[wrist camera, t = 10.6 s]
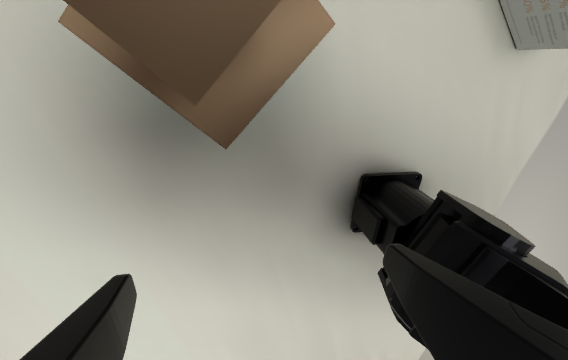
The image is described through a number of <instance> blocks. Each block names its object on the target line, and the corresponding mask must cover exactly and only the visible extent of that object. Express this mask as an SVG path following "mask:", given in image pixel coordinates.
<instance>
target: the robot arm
mask: <svg viewBox="0 0 568 360" xmlns="http://www.w3.org/2000/svg"><path fill="white" fill-rule="evenodd" d="M416 177H417V178H416ZM367 178H368V179H367ZM415 178H416V179H415ZM366 179H367V181H365V180H366ZM421 180H422V175H421V174H420V173H418V172H407V173H384V174H365V175H363V176H362V177H361V179H360V183H359V188H358V193H357V196H356V198H355V203H354V208H353V213H352V222H351V230H352V231H353V232H363V233H364V234H365V236H366V237H367V238H368V239H369V241H370V242H371V243H372V244H373V245H375V244H376V245H377V246H378V247H379V248H380V250H381V251H382V252H383V253H384V258H383V266H384V267H383V268H381V269H380V270H379V272H378V275H379V278H380V280H381V283H382V286H383V288H384V291H385V293H386V296H387V299H388V301H389V304H390V306H391V309H392V311H393V313H394V315H395V317H396V319H397V321H398V322H399V323H400V324H401V325H402V326H403V327H404V328H405V329H406V330H407V331H408V332H409V334H410V335H411V336H412V337H413V338H414V339H415V340H417V341H418V342H419V343H421V344H422V345H423V346H425V347H426V348H427V349H428V350H429V351H430V352H431V354H432V356H433V358H434V359H435V360H568V284H567V283H566V281H565V280H564V279H563V277H562V276H561V274H560V273H559V272H558V271H557V270H555V269H554V268H553V267H551V266H549V265H548V264H546V263H544V262H543V261H541V260H540V259H538V258H536V257H535V256H533V255H531V254H530V253H529V252H530V251H531V250H532V249H533V248H534V247H535V245H534V244H532V243H531V242H530V241H529V240H527V239H526V238H525V237H523V236H522V235H521V234H519V233H518V232H517V231H516V230H514V229H513V228H512V227H510V226H509V225H508V224H506V223H505V222H503V221H502V220H500V219H498V218H496V217H494V216H493V215H491V214H489V213H487V212H486V211H484V210H482V209H480V208H479V207H477V206H475V205H473V204H470V203H468V202H466V201H464V200H462V199H460V198H458V197H455V196H453V195H451V194H449V193H447V192H445V191H443V190H440V191H439V193H438V194H437V195H436V196H437V198H436V199H435V200H433V199H432V198H430V197H429V196H427V195H426V194H424V193H423V192H422V191H420V190H419V186H420V183H421ZM355 227H356V228H355ZM136 297H137V294H136V289H135V286H134V282H133V279H132V276H131V275H130V274H122V275H116V276H114V277H113V278H111V279H110V280H109V281H108V282H107V283H106V284H105V285H104V286H102V287H101V288H100V289H99V290H98V291H97V292H96V293H95V294H93V295H92V296H91V297H90V298H89V299H88V300H87V301H85V302H84V303H83V304H82V305H81V306H80V307H79V308H78V309H76V310H75V311H74V312H73V313H72V314H71V315H70V316H69V317H67V318H66V319H65V320H64V321H63V322H62V323H61V324H59V325H58V326H57V327H56V328H55V329H54V330H53V331H52V332H50V333H49V334H48V335H47V336H46V337H45V338H44V339H42V340H41V341H40V342H39V343H38V344H37V345H36V346H35V347H33V348H32V349H31V350H30V351H29V352H28V353H27V354H26V355H24V356H23V357H22V358H21V359H20V360H123V357H124V353H125V350H126V345H127V341H128V336H129V332H130V327H131V322H132V317H133V313H134V308H135V303H136Z"/></svg>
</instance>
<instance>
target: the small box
mask: <svg viewBox="0 0 568 360" xmlns="http://www.w3.org/2000/svg"><path fill="white" fill-rule="evenodd" d="M500 3H501V5H502V8H503V11H504V14H505V17H506V20H507V23H508V25H509V28H510V31H511V34H512V36H513V39H514V42H515V45H516V48H517V49H518V50H529V49H568V0H500Z"/></svg>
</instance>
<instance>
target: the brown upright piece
mask: <svg viewBox="0 0 568 360" xmlns="http://www.w3.org/2000/svg"><path fill="white" fill-rule="evenodd" d="M63 1H65V2H66V3H67V4H68V6H67V8H66V9H65V11H64V12H63V14H62V16H61V17H60V19H59V21H58V22H59V23H61V24H62V25H63V26H64V27H66V28H67V29H68V30H70V31H71V32H72V33H74V34H75V35H76V36H78V37H79V38H80V39H82V40H83V41H84V42H85V43H87V44H88V45H89V46H91V47H92V48H93V49H95V50H96V51H97V52H99V53H100V54H101V55H103V56H104V57H105V58H106V59H108V60H109V61H110V62H112V63H113V64H114V65H116V66H117V67H118V68H120V69H121V70H122V71H124V72H125V73H126V74H127V75H129V76H130V77H131V78H133V79H134V80H135V81H137V82H138V83H139V84H141V85H142V86H143V87H145V88H146V89H147V90H148V91H150V92H151V93H152V94H154V95H155V96H156V97H158V98H159V99H160V100H162V101H163V102H164V103H166V104H167V105H168V106H170V107H171V108H172V109H173V110H175V111H176V112H177V113H179V114H180V115H181V116H183V117H184V118H185V119H187V120H188V121H189V122H191V123H192V124H193V125H194V126H196V127H197V128H198V129H200V130H201V131H202V132H204V133H205V134H206V135H208V136H209V137H210V138H212V139H213V140H214V141H215V142H217V143H218V144H219V145H221V146H222V147H223V148H225V149H227V148H228V146H229V145H230V144H231V143H232V142H233V141H234V140H235V138H236V137H237V136H238V135H239V134H240V133H241V132H242V130H243V129H244V128H245V127H246V126H247V125H248V124H249V122H250V121H251V120H252V119H253V118H254V117H255V116H256V114H257V113H258V112H259V111H260V110H261V109H262V108H263V106H264V105H265V104H266V103H267V102H268V101H269V100H270V98H271V97H272V96H273V95H274V94H275V93H276V92H277V90H278V89H279V88H280V87H281V86H282V85H283V84H284V82H285V81H286V80H287V79H288V78H289V77H290V76H291V74H292V73H293V72H294V71H295V70H296V69H297V68H298V66H299V65H300V64H301V63H302V62H303V61H304V60H305V58H306V57H307V56H308V55H309V54H310V53H311V52H312V50H313V49H314V48H315V47H316V46H317V45H318V44H319V42H320V41H321V40H322V39H323V38H324V37H325V36H326V34H327V33H328V32H329V31H330V30H331V29H332V28H333V26H334V25H335V23H334V21H333V20H332V18H331V17H330V16H329V14H328V13H327V12H326V10H325V9H324V7H323V6H322V5H321V3H320V2H319V1H318V0H63Z"/></svg>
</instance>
